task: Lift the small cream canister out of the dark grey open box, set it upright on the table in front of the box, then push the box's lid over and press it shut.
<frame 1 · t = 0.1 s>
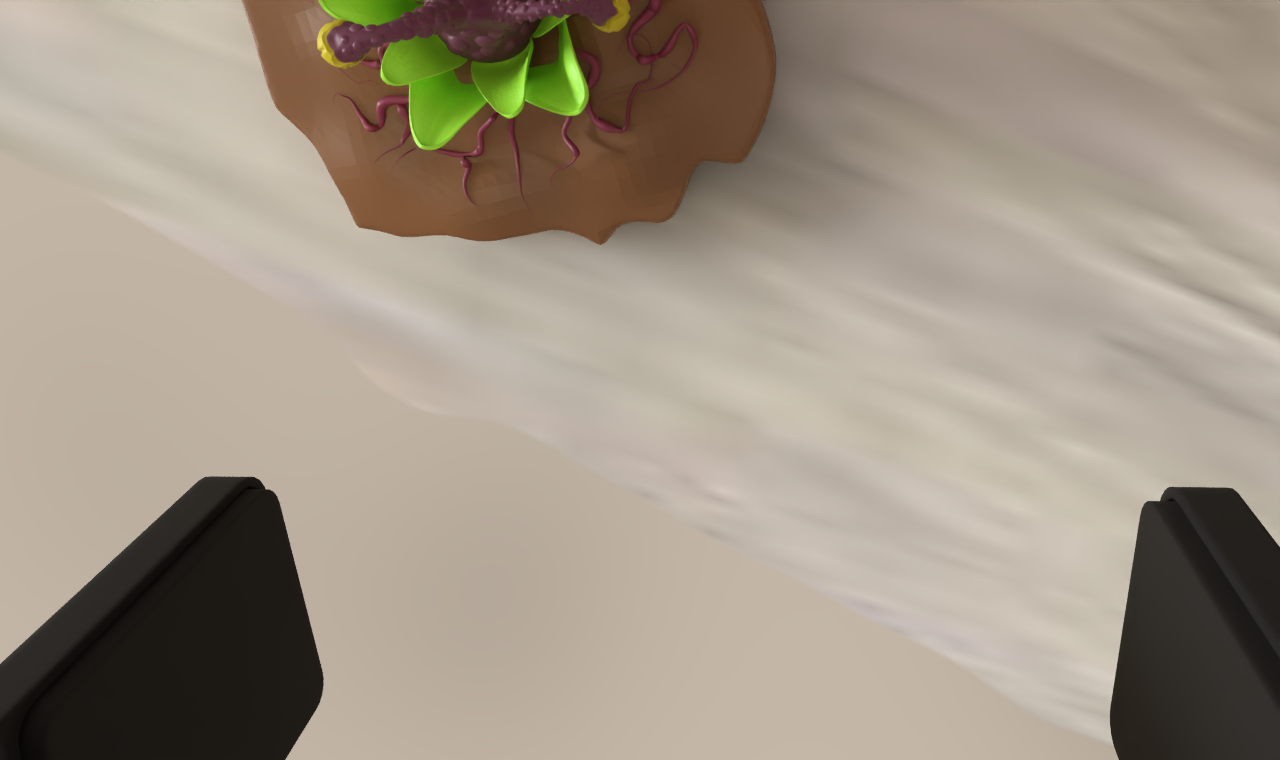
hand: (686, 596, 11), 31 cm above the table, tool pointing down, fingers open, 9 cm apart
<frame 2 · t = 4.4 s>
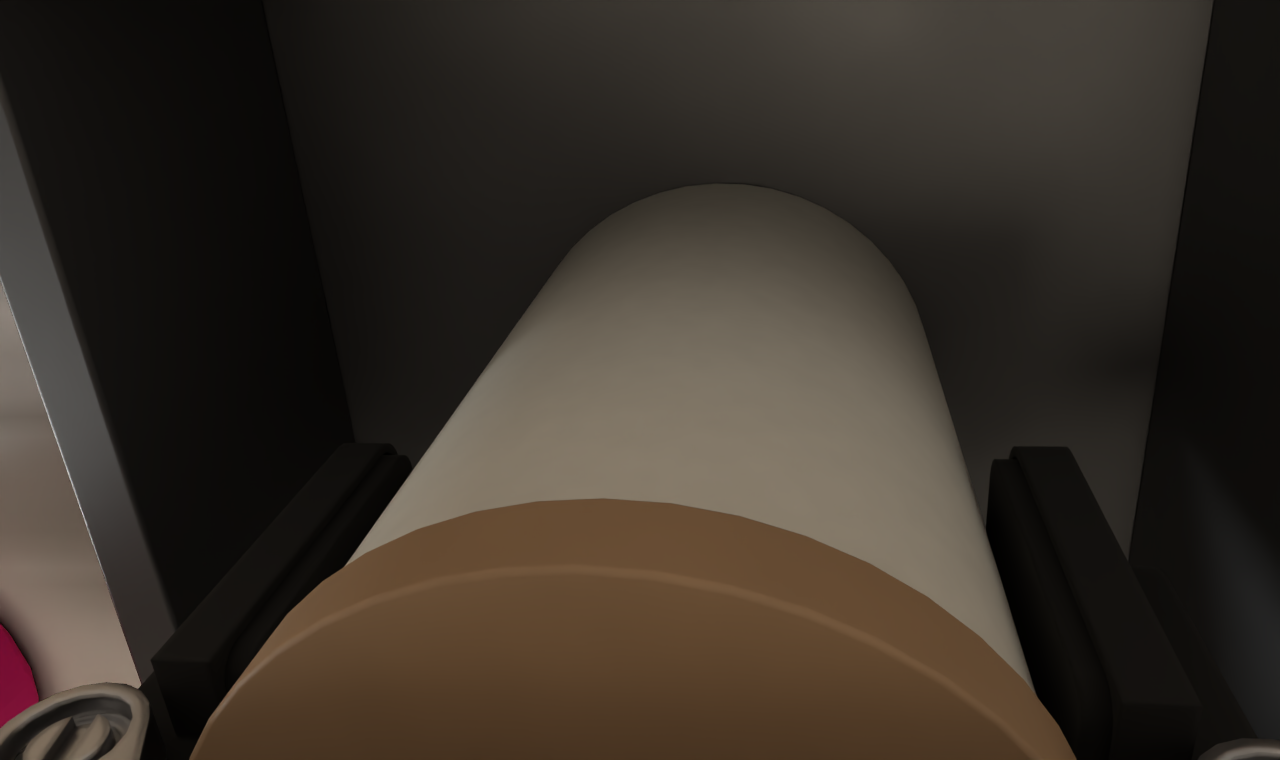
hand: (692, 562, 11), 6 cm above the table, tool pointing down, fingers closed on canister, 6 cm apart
canister: (723, 379, 16), point 1 cm above the table, touching dark grey open box, gripper
dark grey open box: (726, 360, 17), on the table
when the fingers open (5 cm above the table, at t = 11.8 s): canister stays where it is, on the table.
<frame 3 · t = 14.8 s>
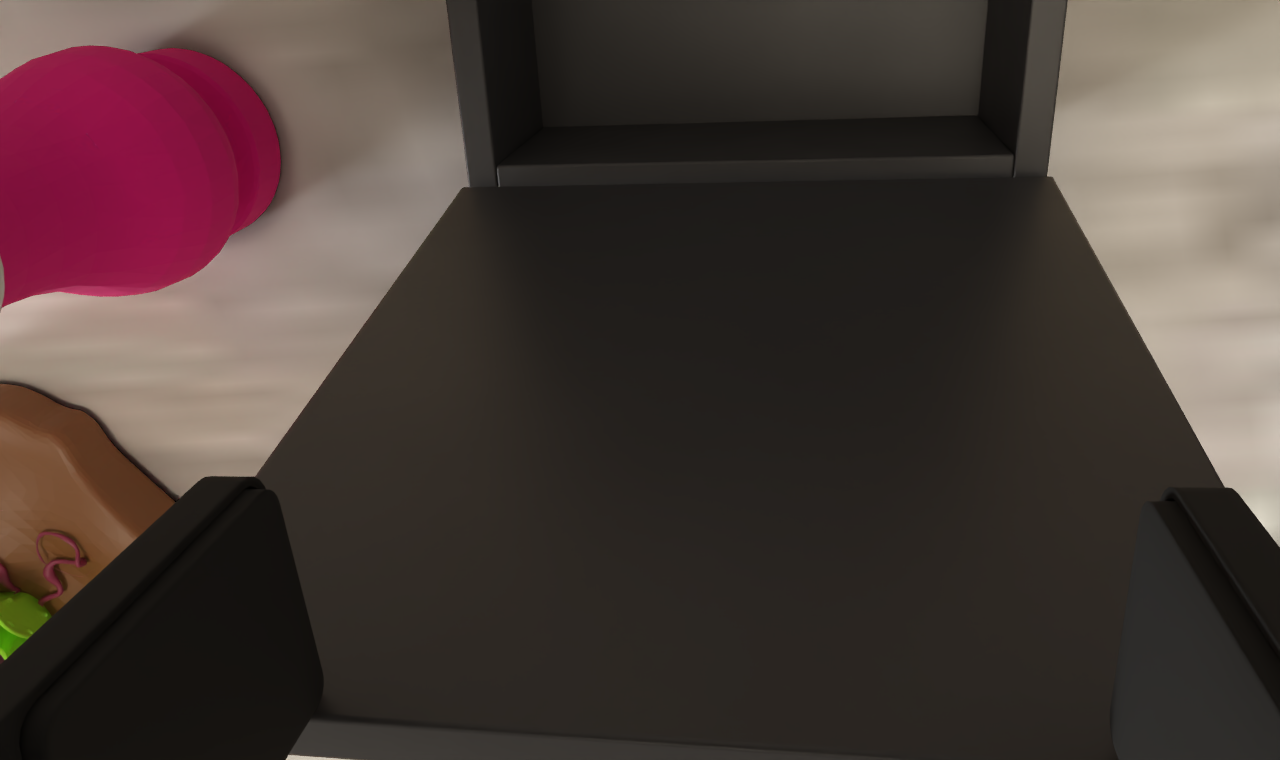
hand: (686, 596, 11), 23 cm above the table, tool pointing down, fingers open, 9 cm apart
plant: (54, 598, 44), on the table
pepper mill: (198, 143, 34), on the table
brewer lid: (724, 374, 18), point 15 cm above the table, hinge at 99.0°, touching gripper
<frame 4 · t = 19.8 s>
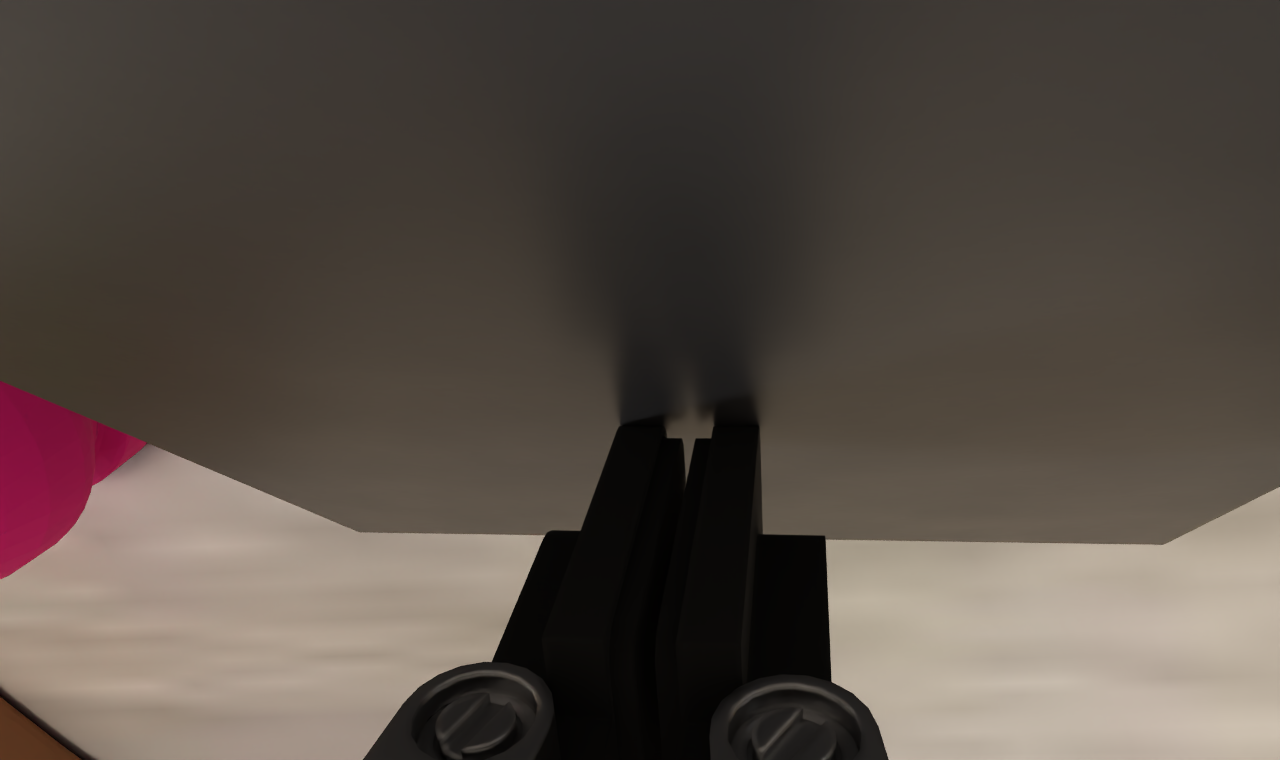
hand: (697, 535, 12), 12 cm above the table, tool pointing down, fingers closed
pepper mill: (64, 361, 27), on the table
brewer lid: (681, 367, 10), point 13 cm above the table, hinge at 46.9°, touching gripper
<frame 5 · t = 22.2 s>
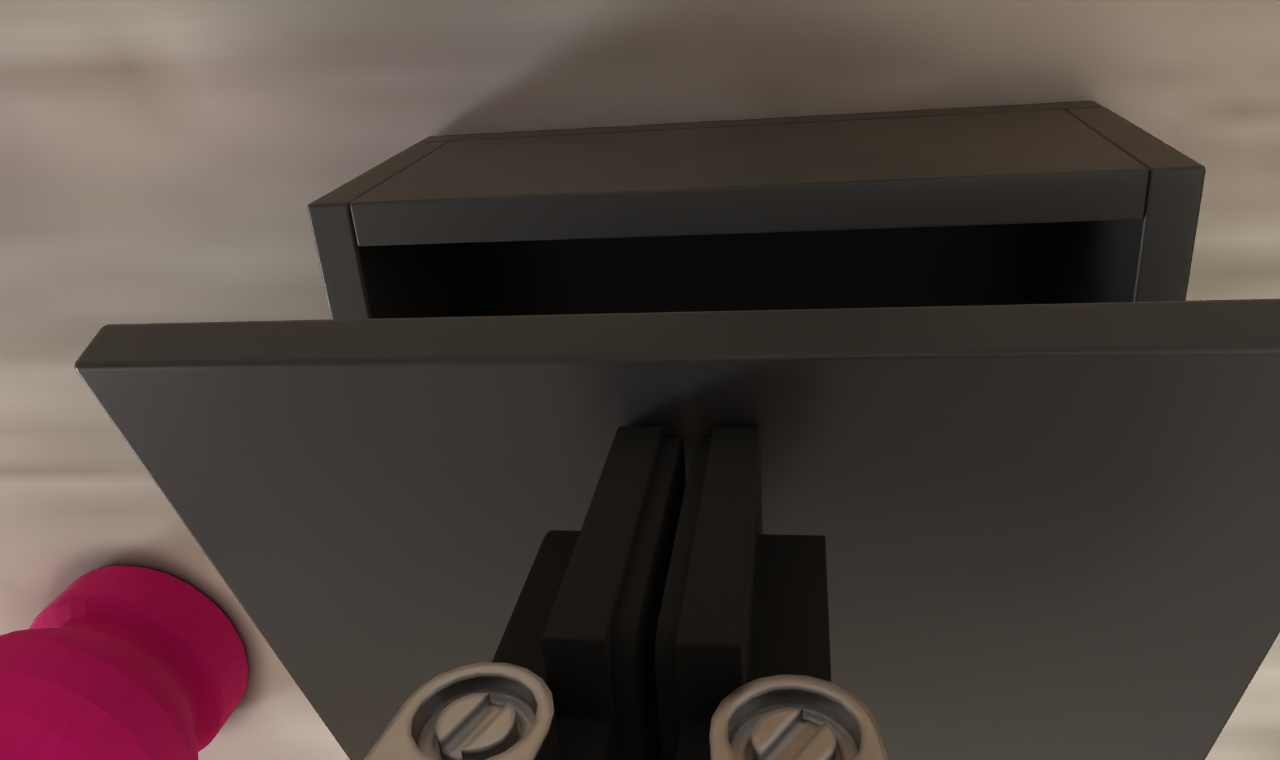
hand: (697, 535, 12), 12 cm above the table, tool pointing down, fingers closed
pepper mill: (160, 641, 31), on the table
dark grey open box: (753, 434, 25), on the table
brewer lid: (729, 704, 16), point 10 cm above the table, hinge at 19.7°
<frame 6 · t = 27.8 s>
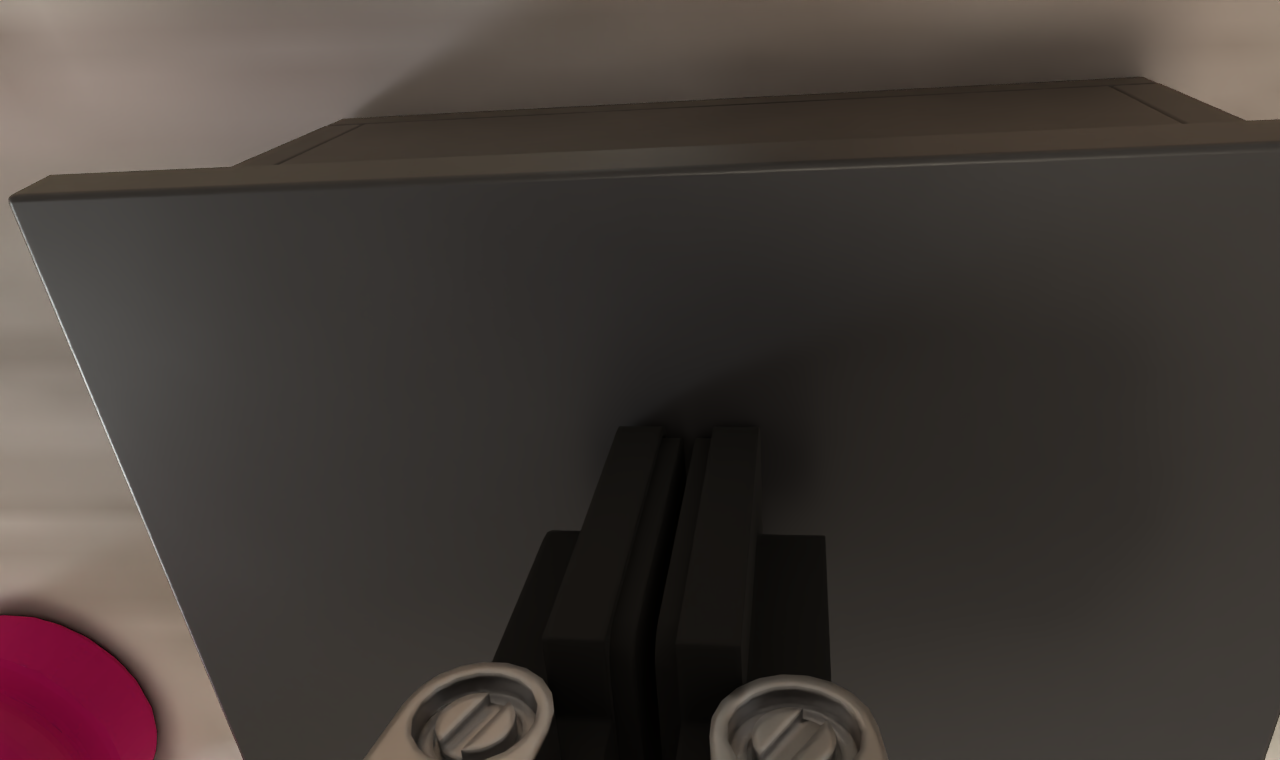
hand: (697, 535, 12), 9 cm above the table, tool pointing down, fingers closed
pepper mill: (57, 699, 27), on the table
dark grey open box: (732, 472, 21), on the table
brewer lid: (703, 713, 14), point 8 cm above the table, hinge at 5.8°, touching gripper
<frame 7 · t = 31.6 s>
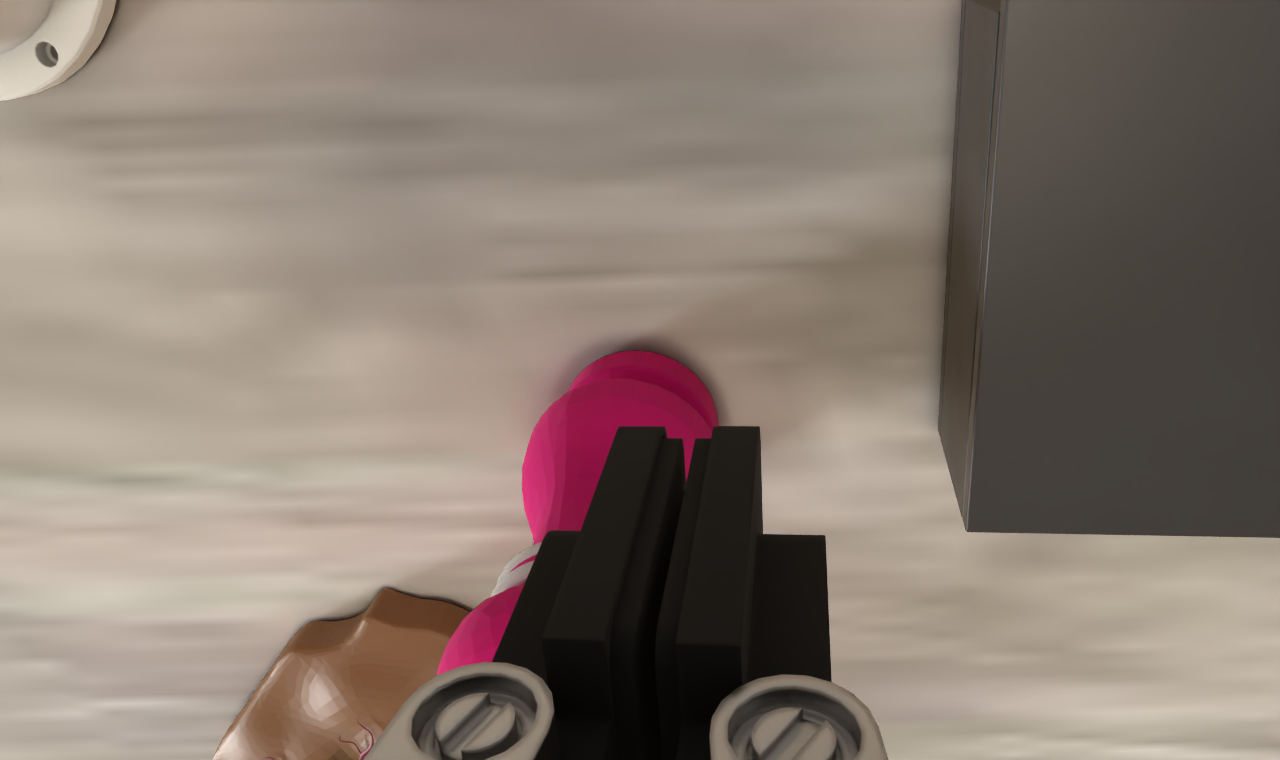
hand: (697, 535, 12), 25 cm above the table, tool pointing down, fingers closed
pepper mill: (641, 418, 40), on the table
dark grey open box: (1171, 226, 34), on the table
brewer lid: (1257, 280, 27), point 7 cm above the table, hinge at 1.1°
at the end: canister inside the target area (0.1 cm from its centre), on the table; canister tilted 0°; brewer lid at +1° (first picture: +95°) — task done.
